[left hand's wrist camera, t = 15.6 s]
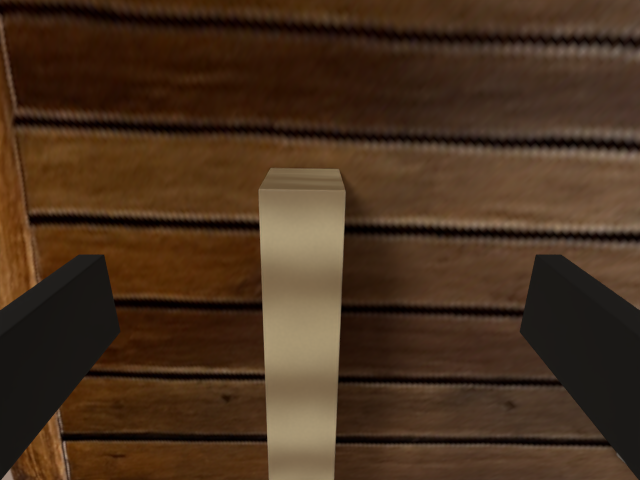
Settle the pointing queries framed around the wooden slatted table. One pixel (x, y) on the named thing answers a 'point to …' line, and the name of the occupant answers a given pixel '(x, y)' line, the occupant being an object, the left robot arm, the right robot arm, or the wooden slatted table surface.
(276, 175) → the birch beam
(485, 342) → the wooden slatted table surface
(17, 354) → the left robot arm
